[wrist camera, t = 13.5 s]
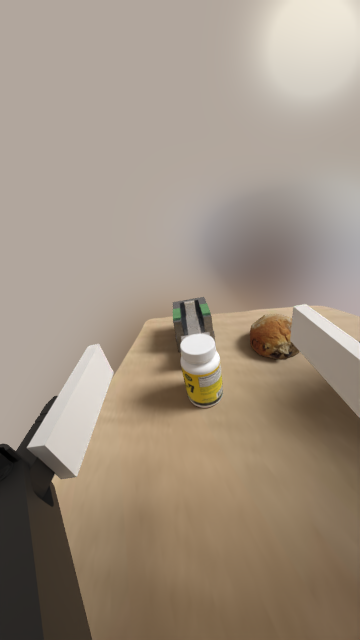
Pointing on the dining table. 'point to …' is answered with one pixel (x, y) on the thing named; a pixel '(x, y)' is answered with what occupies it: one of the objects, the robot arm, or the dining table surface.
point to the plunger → (192, 320)
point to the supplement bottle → (201, 370)
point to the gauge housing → (181, 321)
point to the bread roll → (273, 337)
